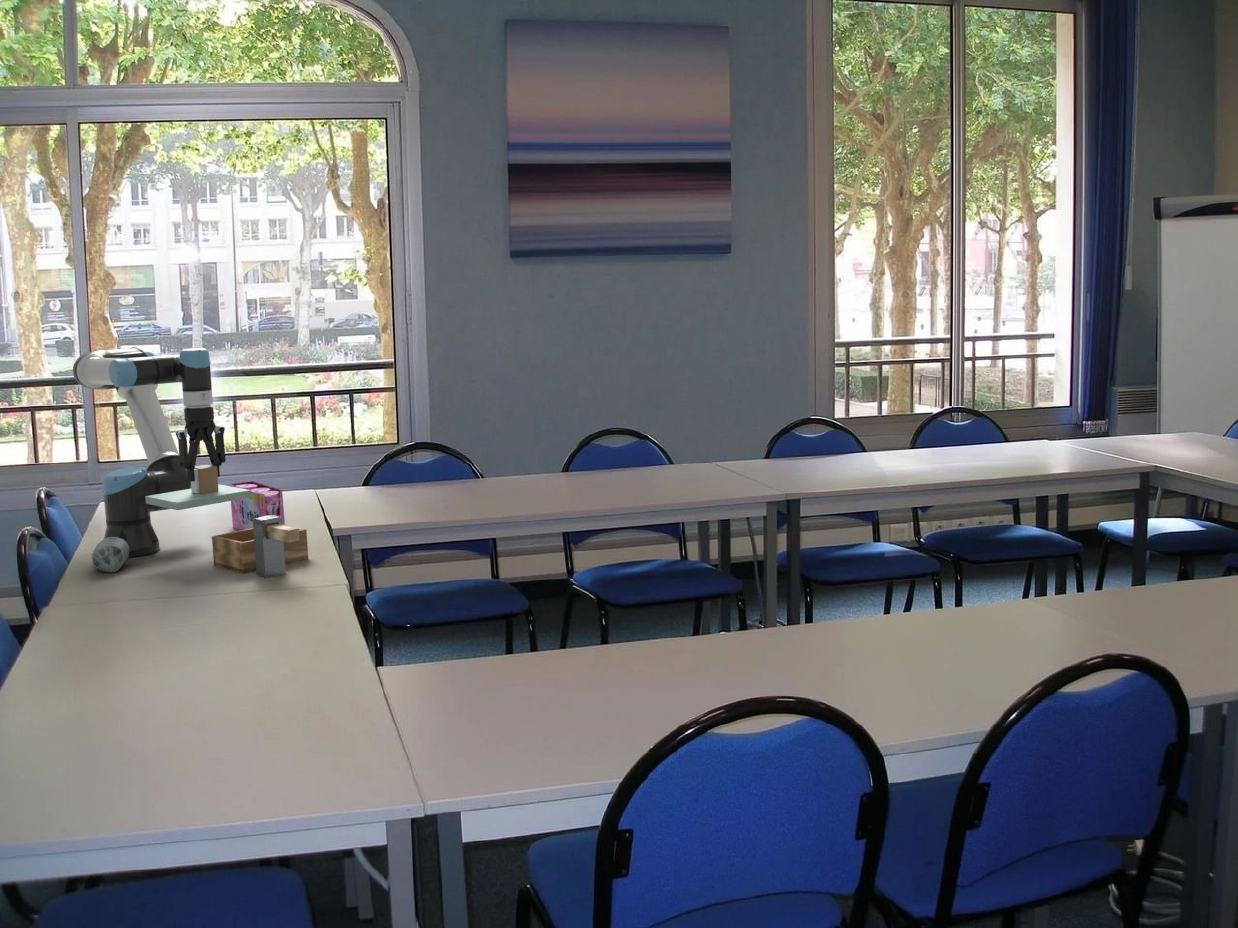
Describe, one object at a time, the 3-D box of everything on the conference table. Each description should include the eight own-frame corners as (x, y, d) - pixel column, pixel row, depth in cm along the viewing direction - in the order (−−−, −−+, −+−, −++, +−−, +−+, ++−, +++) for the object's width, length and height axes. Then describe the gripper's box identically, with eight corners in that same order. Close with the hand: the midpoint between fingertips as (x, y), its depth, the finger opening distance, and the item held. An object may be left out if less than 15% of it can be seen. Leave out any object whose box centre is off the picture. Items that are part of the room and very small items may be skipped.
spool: (129, 561, 322) (110, 528, 322) (95, 580, 320) (76, 547, 321) (144, 561, 335) (126, 530, 335) (112, 579, 334) (94, 547, 334)
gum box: (288, 536, 364) (285, 490, 361) (262, 540, 359) (259, 494, 356) (256, 523, 382) (253, 480, 380) (231, 527, 377) (228, 483, 375)
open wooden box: (214, 565, 329) (211, 536, 328) (278, 551, 344) (276, 523, 343) (243, 573, 320) (241, 543, 319) (308, 558, 335) (306, 529, 334)
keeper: (256, 575, 317) (252, 518, 315) (276, 571, 322) (272, 514, 319) (265, 578, 315) (261, 520, 312) (285, 573, 319) (281, 516, 317)
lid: (146, 503, 332) (143, 470, 331) (218, 491, 348) (216, 459, 347) (177, 510, 322) (175, 476, 320) (251, 497, 338) (249, 464, 337)
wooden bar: (254, 534, 318) (254, 523, 318) (264, 532, 320) (264, 521, 320) (289, 542, 308) (288, 530, 308) (299, 540, 311) (298, 528, 310)
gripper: (175, 410, 323) (182, 497, 327) (235, 403, 337) (242, 487, 341) (160, 408, 328) (167, 494, 332) (220, 402, 342) (226, 484, 345)
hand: (205, 491), depth 336 cm, fingers closed on lid, 5 cm apart
